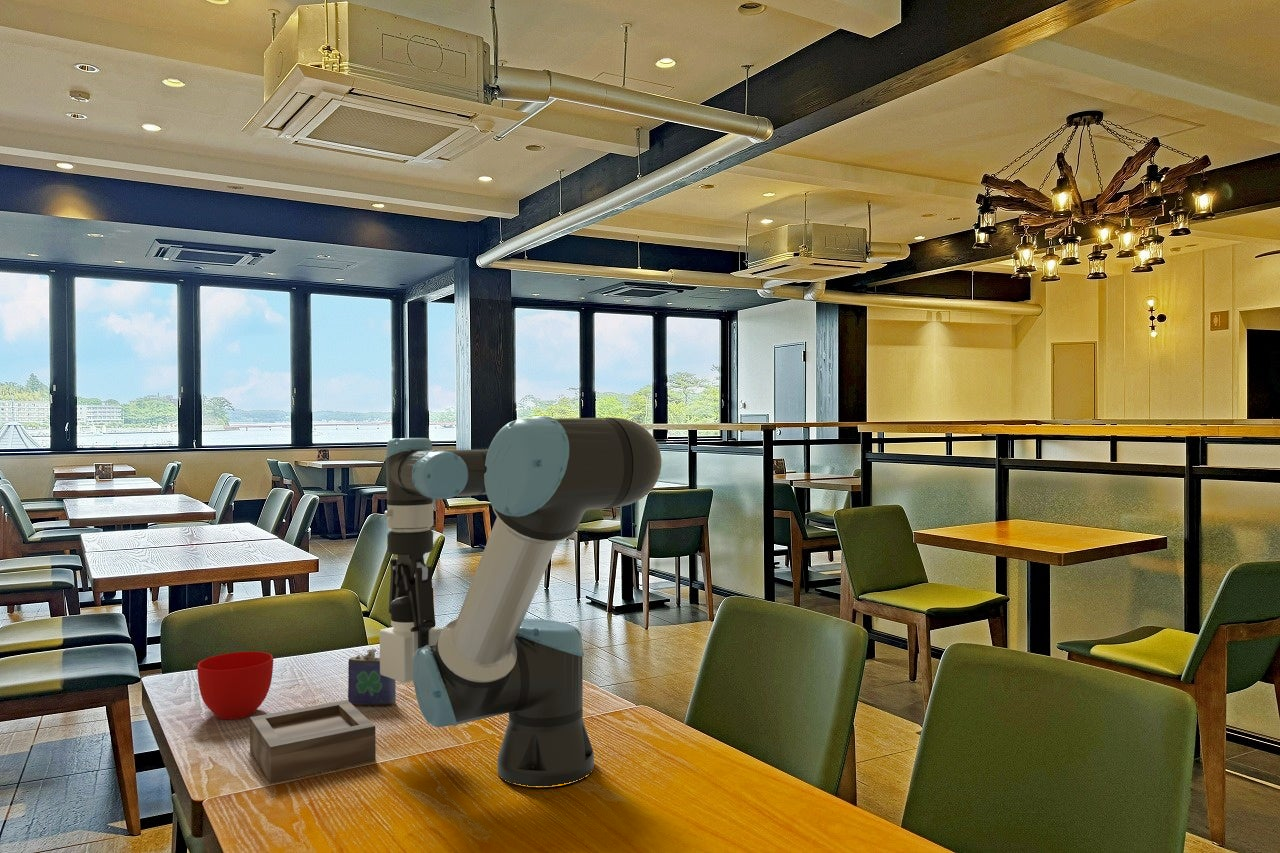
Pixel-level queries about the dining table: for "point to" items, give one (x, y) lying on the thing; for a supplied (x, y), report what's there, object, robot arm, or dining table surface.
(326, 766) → the thick-rimmed brown tray
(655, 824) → the dining table surface
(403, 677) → the container
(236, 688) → the ceramic cup
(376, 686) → the flask
